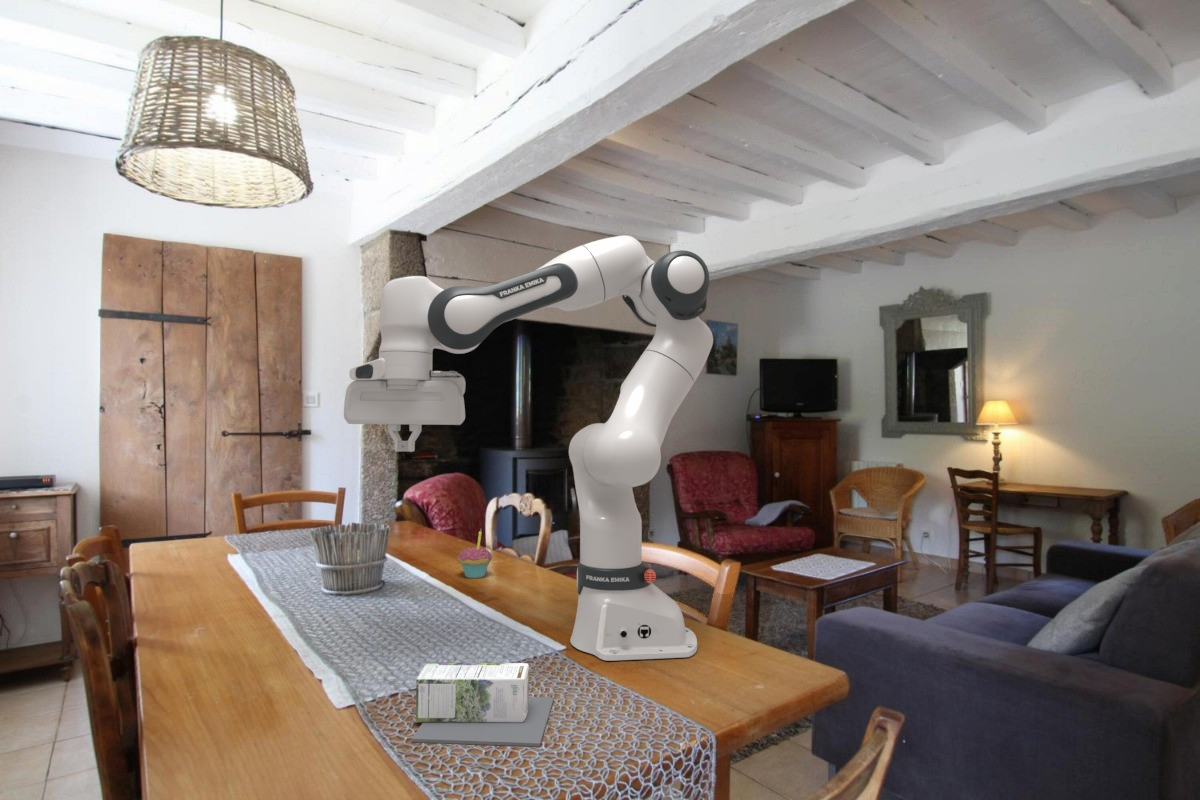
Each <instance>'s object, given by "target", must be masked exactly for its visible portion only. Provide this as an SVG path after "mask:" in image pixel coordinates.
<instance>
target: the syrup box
mask: <svg viewBox="0 0 1200 800" xmlns="http://www.w3.org/2000/svg"><path fill="white" fill-rule="evenodd" d="M529 668H530V667H529V663H525V662H521V663H520V662H508V663H507V662H495V663H494V662H486V663H485V662H475V663H474V662H427V663H425V664H424V666H423V668H422V669H421V671H420V672H419V674H418V676H417V677H416V684H415V685H416V687H415V722H417V723H423V722H523V721H524V720H525V718H526V716H527V713H528V708H529V697H530V696H529V695H530V694H529V691H530V689H529V688H530V687H529V684H530V683H529V681H530V680H529V678H530V677H529V673H530V670H529Z"/></svg>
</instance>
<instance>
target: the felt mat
mask: <svg viewBox="0 0 1200 800" xmlns="http://www.w3.org/2000/svg"><path fill="white" fill-rule="evenodd" d="M554 699H555V697H545V696H542V697H541V696H529V708H528V713H527V716H526V718H525V720H524V721H523V722H421V725H420V726H419V727H418V729H417V730H416V731H415V733H414V734H413V736H412V737H411V743H426V744H429V743H430V744H452V745H453V744H455V745H456V744H458V745H459V744H460V745H479V746H481V745H482V746H483V745H484V746H488V745H489V746H509V747H511V746H512V747H513V746H514V747H515V746H516V747H539V748H540V747H541V744H542V740H543V737H544V733H545V730H546V728H545V727H547V725H548V724H547V723H548V720H549V718H550V713H551V710H552V707H553V704H554Z"/></svg>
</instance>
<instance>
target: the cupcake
mask: <svg viewBox="0 0 1200 800" xmlns="http://www.w3.org/2000/svg"><path fill="white" fill-rule="evenodd" d="M481 540H482V529H480V531H478V537H477V546H475V547H474V546H472V547H467V548H464V549H463V550H461V552H459V554H458V555H457V558H456V561H457V563H458V564H461V567H462V569H463V573H464V576H465V577H466V578H468V579H479V578H484V577H485V576H486V572H487V569H488V566H489V564H490V563H491V562H492V560H493V559H492V558H493V555H492V554H491V552H490V551H489V550H488V549H487V548H484V547H481V542H482V541H481Z"/></svg>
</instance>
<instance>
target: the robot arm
mask: <svg viewBox="0 0 1200 800" xmlns="http://www.w3.org/2000/svg"><path fill="white" fill-rule="evenodd" d="M709 287H710V273H709V269H708V266H707V264H706V263H705V261H704V260H703V259H702V257H700V256H699V255H698V254H696V253H695V252H692V251H688V250H674V251H670V252H669V253H668V252H667V253H666V254H664V255H662V256H661V257H659V258H658V260H656V262H655V260H653V259H651V258H650V257H649V256H648V255H647V252H646V251H645V248H644V247H643V245H642V243H641V242H640V241H639V240H638V239H636V238H635V237H633V236H631V235H616V236H611V237H605V238H601V239H597V240H595V241H590V242H588V243H584V244H581V245H579V246H576V247H574V248H571V249H570V250H568V251H565V252H563V253H560V254H559V255H558V256H556V257H554V258H553V259H551V260H550V261H548V262H546V263H545V264H543V265H542V266H540V267H538V268H537V269H534V270H532V271H530V272H528V273H524V274H522V275H518V276H515V277H513V278H511V279H507V280H504V281H501V282H499V283H498V282H497V283H495V284H492V285H489V286H466V285H455V286H450V287H448V288H446V289H443V288H442V287H440V286H439V285H437V284H436V283H434V282H433V281H431V280H430V279H429V278H428V277H427V276H424V275H419V274H418V275H417V274H409V275H402V276H397V277H394V278H391V280H389V281H388V282H387V283H386V284H384V287H383V289H382V292H381V297H380V305H379V321H378V322H379V323H378V325H379V331H380V335H381V342H380V346H379V350H378V358H377V359H373V360H371V361H369V362H365V363H361V364H358V365H355V366H353V367H351V368H350V369H349V378H350V379H351V380H353V381H351V382H349V384H348V385H347V387H346V389H345V396H344V403H343V418H344V420H345V422H346V423H347V424H349V425H388V426H387V432H388V433H389V435H390V437H391V438H392V440H393V442H394V452H395V453H397V452H401V453H402V452H404V453H405V452H408V453H409V452H410V453H412V452H415V449H416V446H415V445H416V441H417V439H418V438H419V437H420V434H421V433H422V429H423V428H422V426H423V425H425V426H426V425H428V426H430V425H431V426H433V425H435V426H436V425H437V426H438V425H439V426H441V425H442V426H443V425H444V426H445V425H446V426H448V425H449V426H451V425H452V426H461V425H462V424H463V423H464V421H465V419H466V408H465V407H466V406H465V399H464V394H465V392H466V384H467V383H466V379H465V377H464V376H463V374H461V373H459V372H458V371H455V370H449V371H445V370H444V371H443V370H433V352H434V349H437V350H440V351H446V352H448V353H452V354H456V355H457V354H458V355H459V354H466V353H469V352H472V351H474V350H475V349H477V347H479V345H480V344H481V343H483V342H484V341H485V339H486V338H488V336H489V335H490V334H491V333H493V331H494V330H495V329H496V328H497V327H499V326H500V325H502V324H504V323H507V322H509V321H512V320H514V319H515V320H516V319H517V318H520V317H523V316H525V315H528V314H531V313H534V312H536V311H538V310H543V309H546V308H557V309H559V310H561V311H563V312H573V311H579V310H583V309H588V308H591V307H594V306H596V305H599V304H602V303H604V302H607V301H609V300H611V299H613V298H617V297H620V296H622V300H623V302H624V303H625V304H626V305H627V306H628V307H629V309H630V310H631V313H632V314H633V315H634V317H635V318H636V319H637V320H638V321H639V323H641V324H643V325H644V326H647V327H649V328H650V327H651V328H656V329H655V332H654V335H653V337H652V340H651V341H650V342H649V344H648V345H647V347H646V348H645V349H644V351H643V353H642V354H641V355H640V357H639V358H638V360H637V361H636V362H635V364H634V365H633V367H632V368H631V370H630V372H629V373H628V375H626V378H625V379H624V381H623V382H622V383H621V386H620V392H619V397H618V399H617V401H616V404H615V406H614V409H613V411H612V413H611V415H610V417H609V418H608V420H607V421H606V422H604V423H603V422H602V423H601V422H597V423H591V424H589V425H586V426H585V427H583V428H581V429H580V430H579V431H577V432H576V433H574V435H573V437H572V438H571V440H570V442H569V446H568V456H569V458H568V459H569V461H570V463H571V466H572V472H573V478H574V485H575V487H574V488H575V492H576V499H577V504H578V512H579V531H580V532H579V537H580V538H579V539H580V541H579V561H578V563H577V568H576V590H577V594H578V597H577V598H578V601H577V609H576V613H575V614H576V616H575V620H574V624H573V625H574V626H573V630H572V633H571V636H570V639H569V640H570V644H571V645H572V646H573V647H574V648H575V649H577V650H579V651H581V652H583V653H584V652H585V653H588V654H590V655H594V656H595V657H597V658H598V659H600V660H603V661H609V662H610V661H611V662H612V661H615V662H616V661H630V660H631V661H633V660H655V659H656V660H657V659H660V660H661V659H676V658H677V659H678V658H680V659H681V658H690V657H692V656H693V655H695V654H696V652H697V650H698V639H697V636H696V634H695V632H694V631H692V630H691V629H690V628H688V627H686V626H685V625H686V624H685V619H684V616H683V613H682V610H681V607H680V605H678V603H677V602H676V601H675V600H674V599H673V598H671V597H670V596H669V595H668V594H666V593H665V592H664V591H662V590H661V589H660V588H659V587H657V586H656V585H655V583H654V582H655V581H656V579H657V576H656V572H655V570H654V568H653V567H652V566H651V564H650V563H646V562H645V561H643V559H642V553H643V552H642V550H643V549H642V548H643V547H642V546H643V544H642V543H643V541H642V538H643V537H642V535H643V534H642V532H643V531H642V530H643V529H642V528H643V526H642V525H643V524H642V523H643V521H642V520H643V519H642V516H641V513H640V511H639V510H638V507H637V503H636V500H635V495H634V491H633V488H635V487H638V486H643V485H646V484H647V483H649V482H650V481H651V480H652V479H654V477H655V476H656V475H657V473H658V471H659V469H660V466H661V464H662V463H661V462H662V460H661V459H662V455H661V448H662V444H663V442H664V440H665V437H666V434H667V431H668V428H669V426H670V424H671V422H672V419H673V418H674V416H675V414H676V412H677V410H678V409H679V408H680V406H681V404H682V403H683V401H684V399H685V398H686V397H687V395H688V393H689V392H690V390H691V388H692V387H693V386H694V384H695V382H696V381H697V380H698V378H699V375H700V374H701V372H702V370H703V369H704V366H705V364H706V362H707V360H708V359H709V358H708V357H709V355H710V352H711V350H712V347H713V344H714V336H713V333H712V330H711V328H710V327H709V326H708V325H707V324H706V323H705V322H704V321H703V320H702V319H701V318H700V317H699V316H701V315H702V314H704V312H706V309H707V301H708V300H707V297H708V291H709ZM401 425H408V426H409V427H408V428H409V432H411V434H410V436H409V438H408V440H402V437H401V436H400V434H399V432H400V431H401Z"/></svg>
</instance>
